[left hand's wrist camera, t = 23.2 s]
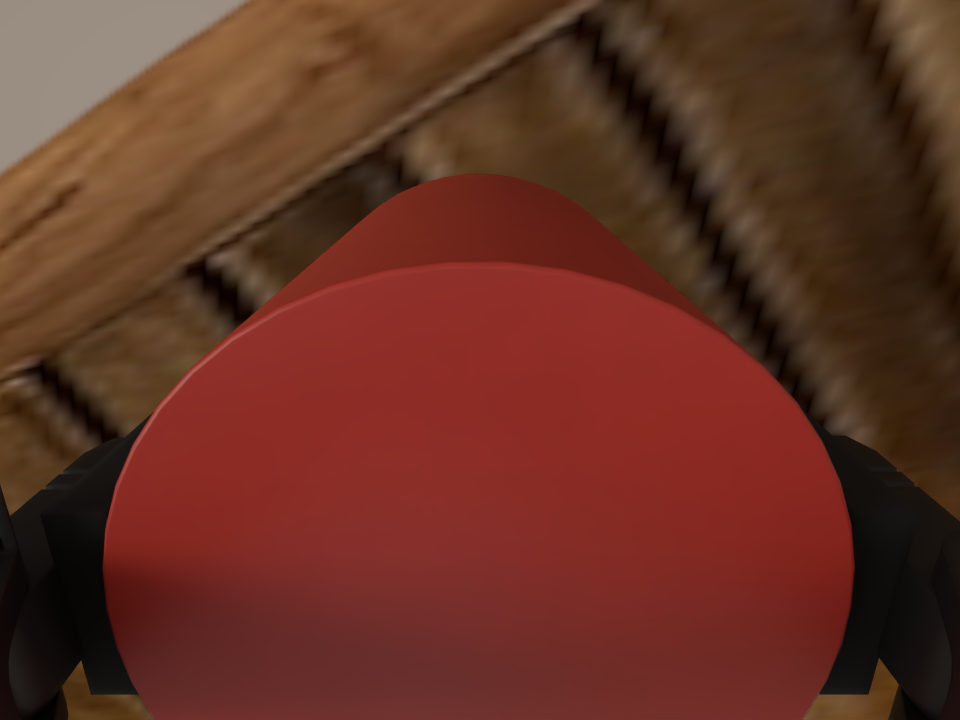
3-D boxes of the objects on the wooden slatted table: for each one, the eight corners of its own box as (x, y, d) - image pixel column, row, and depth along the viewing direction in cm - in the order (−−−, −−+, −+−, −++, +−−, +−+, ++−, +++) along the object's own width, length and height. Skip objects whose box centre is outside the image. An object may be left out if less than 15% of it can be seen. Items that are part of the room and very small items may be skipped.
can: (319, 478, 18) (148, 858, 9) (309, 162, 15) (35, 233, 6) (619, 493, 18) (764, 883, 9) (669, 185, 15) (965, 289, 6)
